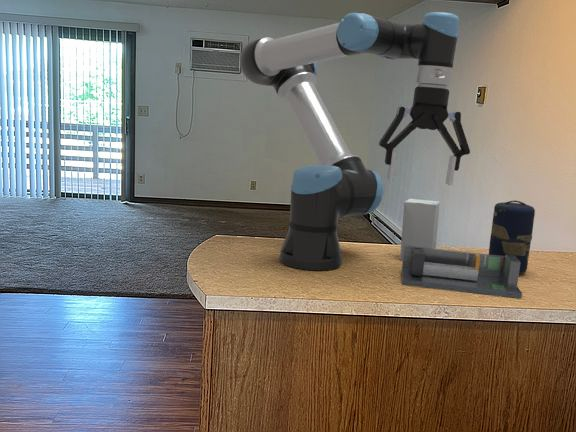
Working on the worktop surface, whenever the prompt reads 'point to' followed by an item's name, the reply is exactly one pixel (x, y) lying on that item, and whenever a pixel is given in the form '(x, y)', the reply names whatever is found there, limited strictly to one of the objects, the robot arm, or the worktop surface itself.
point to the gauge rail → (492, 268)
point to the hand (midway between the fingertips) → (419, 182)
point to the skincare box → (419, 224)
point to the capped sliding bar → (443, 268)
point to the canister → (512, 231)
